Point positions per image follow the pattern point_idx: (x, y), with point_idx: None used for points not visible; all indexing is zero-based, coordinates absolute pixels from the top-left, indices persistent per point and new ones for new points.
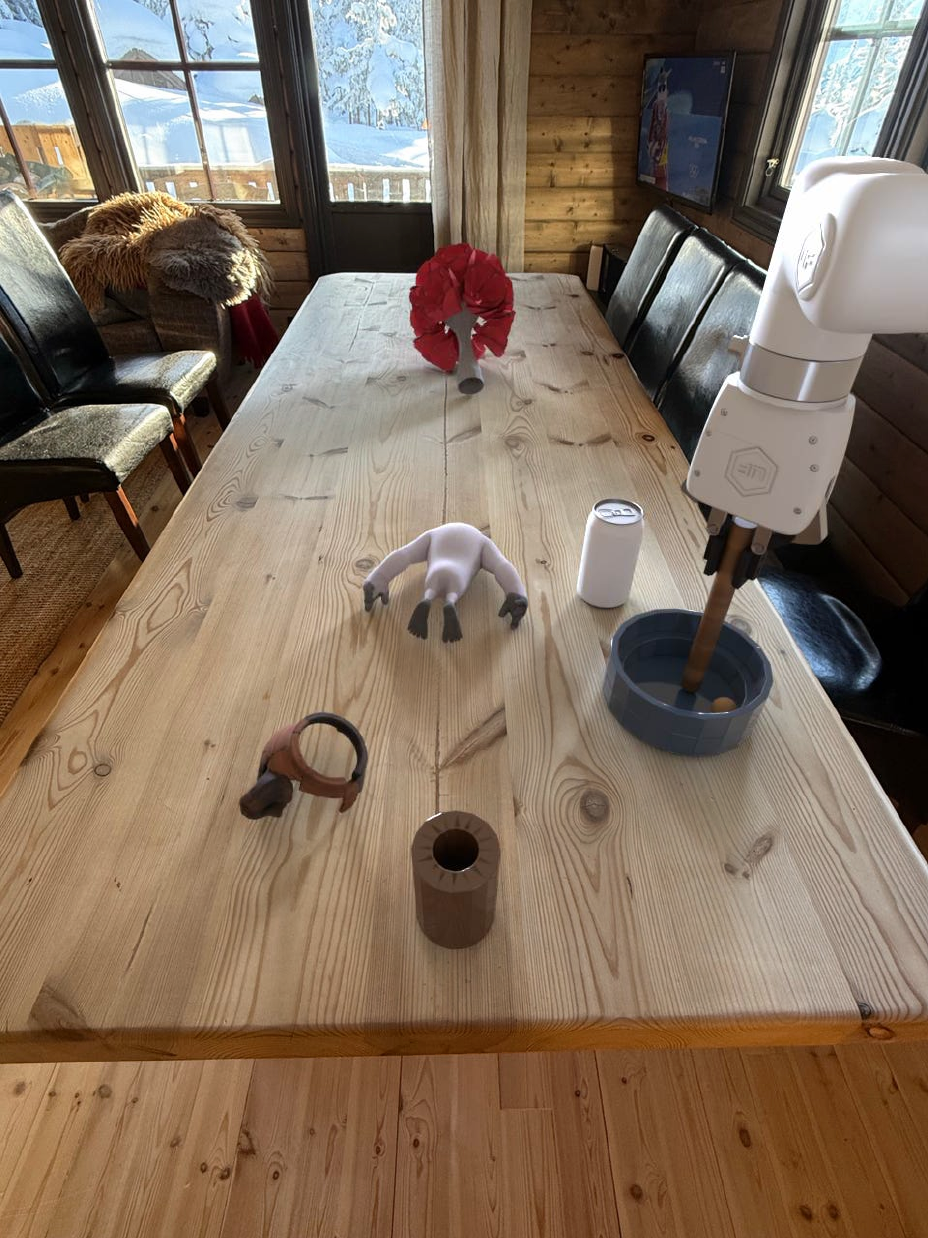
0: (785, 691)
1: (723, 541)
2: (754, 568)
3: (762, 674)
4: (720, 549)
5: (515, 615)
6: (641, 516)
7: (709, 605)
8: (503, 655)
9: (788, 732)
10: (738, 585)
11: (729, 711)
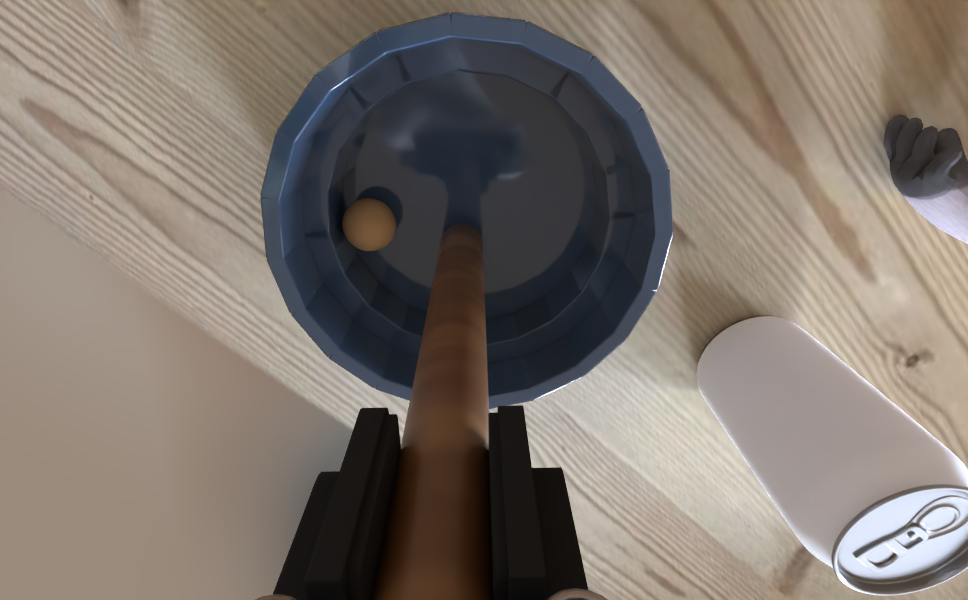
0: (336, 365)
1: (493, 583)
2: (311, 521)
3: (329, 325)
4: (493, 533)
5: (925, 129)
6: (836, 561)
7: (466, 347)
8: (873, 25)
9: (274, 281)
10: (357, 419)
11: (349, 216)
